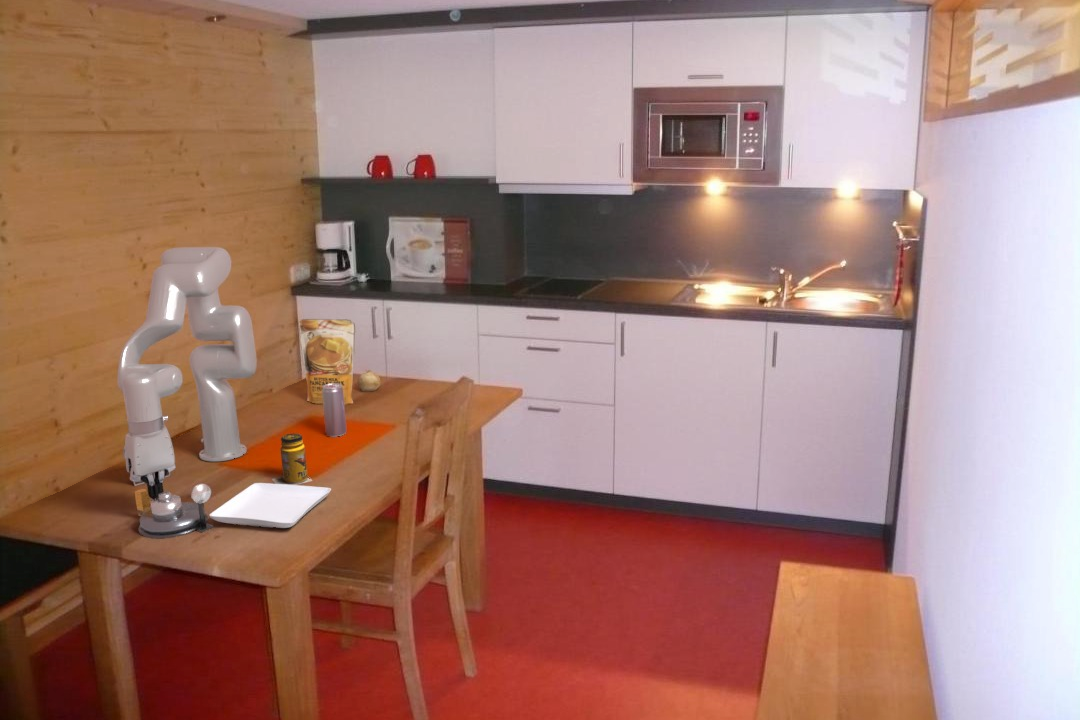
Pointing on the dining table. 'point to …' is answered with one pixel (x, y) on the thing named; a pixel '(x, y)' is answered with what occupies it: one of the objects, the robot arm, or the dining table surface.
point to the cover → (166, 507)
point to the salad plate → (270, 505)
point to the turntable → (178, 525)
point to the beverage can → (334, 409)
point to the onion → (369, 381)
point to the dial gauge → (201, 504)
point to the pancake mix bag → (327, 355)
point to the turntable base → (169, 534)
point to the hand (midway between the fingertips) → (156, 498)
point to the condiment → (293, 461)
